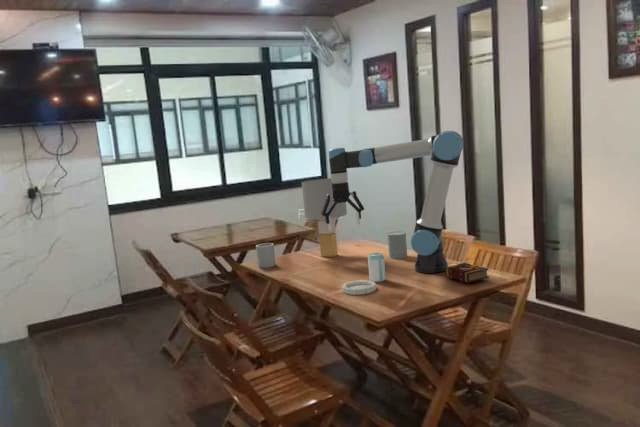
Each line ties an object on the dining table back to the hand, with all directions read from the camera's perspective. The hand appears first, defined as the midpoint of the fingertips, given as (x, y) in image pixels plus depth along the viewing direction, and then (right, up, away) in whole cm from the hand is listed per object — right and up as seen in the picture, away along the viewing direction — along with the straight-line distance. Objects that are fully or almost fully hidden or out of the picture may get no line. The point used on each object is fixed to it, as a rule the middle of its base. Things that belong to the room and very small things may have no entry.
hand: (344, 228), depth 255 cm
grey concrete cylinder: (+29, -16, +34) cm, 48 cm away
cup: (-39, -22, +36) cm, 57 cm away
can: (+14, -23, -9) cm, 29 cm away
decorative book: (+51, -21, -16) cm, 58 cm away
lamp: (-6, -17, +48) cm, 51 cm away
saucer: (+5, -25, -21) cm, 33 cm away
